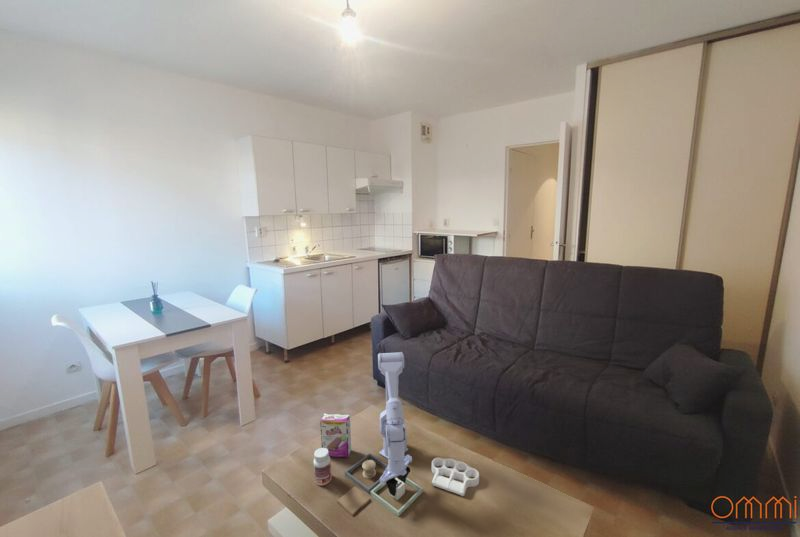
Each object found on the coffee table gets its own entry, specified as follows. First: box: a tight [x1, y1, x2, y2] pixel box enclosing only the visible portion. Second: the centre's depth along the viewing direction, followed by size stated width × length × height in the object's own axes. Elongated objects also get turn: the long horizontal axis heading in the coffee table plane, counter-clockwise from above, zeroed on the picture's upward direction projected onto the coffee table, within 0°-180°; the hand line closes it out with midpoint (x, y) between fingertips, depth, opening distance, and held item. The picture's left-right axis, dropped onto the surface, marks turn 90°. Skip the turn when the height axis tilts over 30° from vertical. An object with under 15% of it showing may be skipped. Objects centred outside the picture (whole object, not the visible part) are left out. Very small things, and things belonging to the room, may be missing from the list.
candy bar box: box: [319, 413, 352, 458], centre depth 141 cm, size 11×5×16 cm, turn 85°
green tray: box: [369, 477, 424, 517], centre depth 122 cm, size 13×13×2 cm
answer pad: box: [336, 486, 371, 516], centre depth 119 cm, size 8×8×1 cm
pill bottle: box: [313, 447, 333, 486], centre depth 128 cm, size 6×6×11 cm
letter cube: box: [388, 477, 406, 501], centre depth 122 cm, size 4×4×4 cm
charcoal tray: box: [344, 452, 388, 495], centre depth 131 cm, size 13×13×2 cm
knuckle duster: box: [431, 457, 480, 497], centre depth 129 cm, size 3×18×15 cm
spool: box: [361, 459, 377, 480], centre depth 131 cm, size 5×5×4 cm
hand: (396, 490), depth 122 cm, fingers closed on letter cube, 4 cm apart
